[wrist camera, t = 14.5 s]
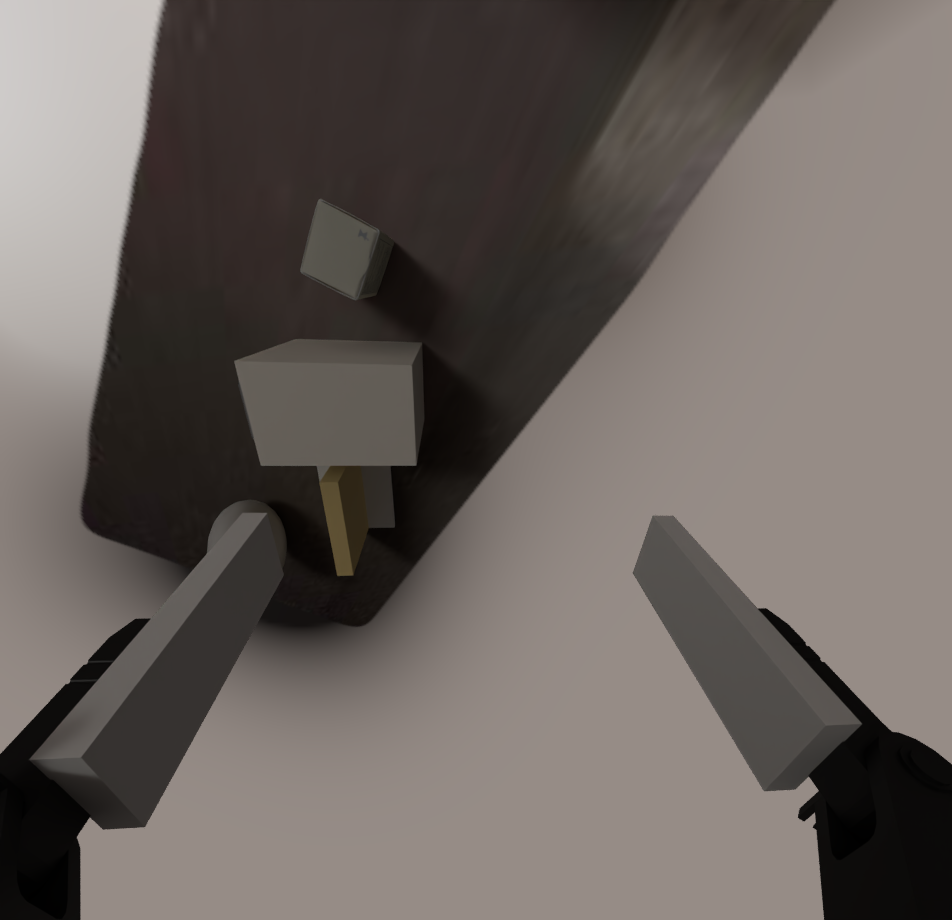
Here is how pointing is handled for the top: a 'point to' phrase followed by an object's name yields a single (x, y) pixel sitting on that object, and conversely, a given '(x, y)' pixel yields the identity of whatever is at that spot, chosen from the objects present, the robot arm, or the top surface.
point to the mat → (375, 494)
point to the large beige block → (335, 402)
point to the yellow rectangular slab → (345, 515)
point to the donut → (249, 506)
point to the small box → (345, 252)
